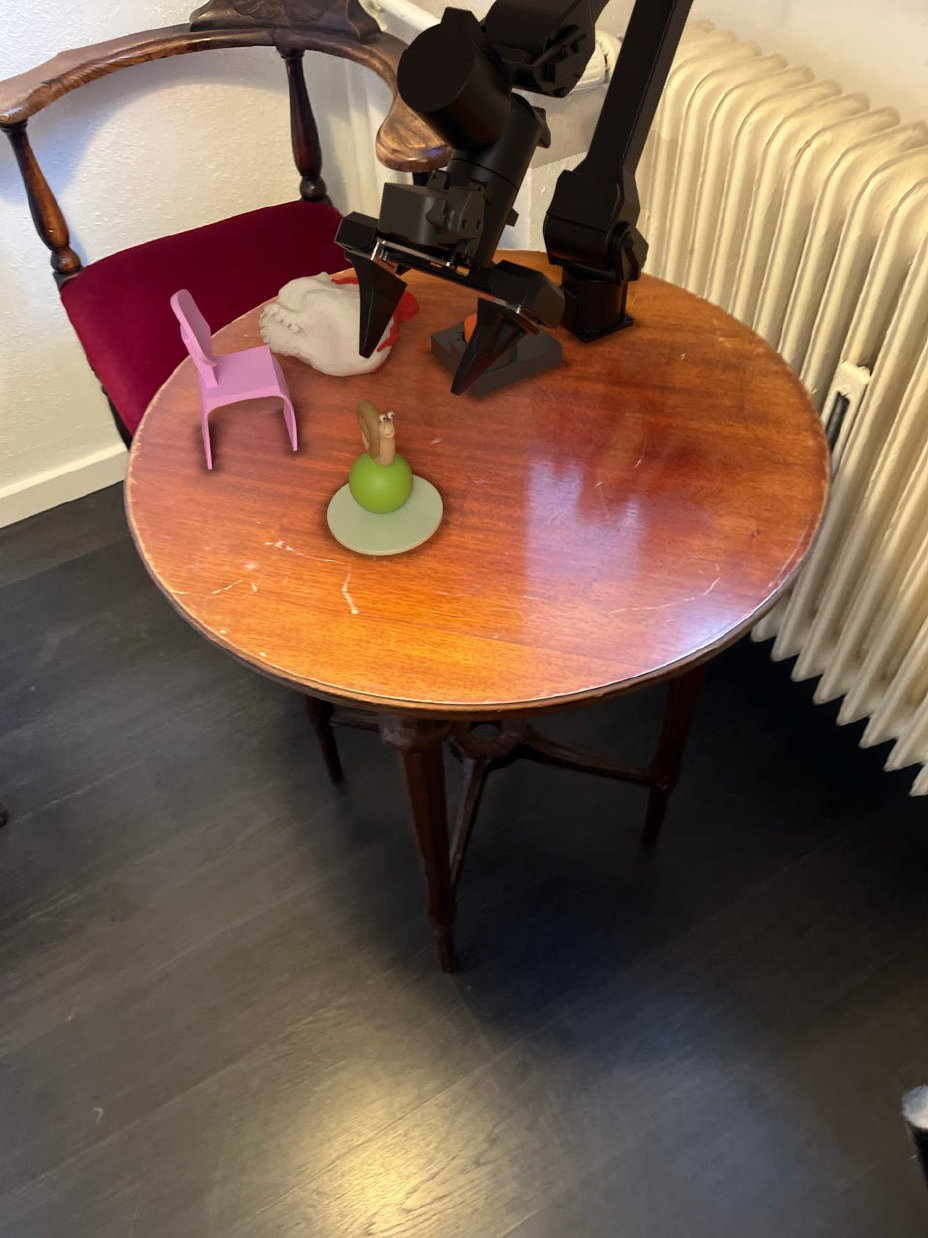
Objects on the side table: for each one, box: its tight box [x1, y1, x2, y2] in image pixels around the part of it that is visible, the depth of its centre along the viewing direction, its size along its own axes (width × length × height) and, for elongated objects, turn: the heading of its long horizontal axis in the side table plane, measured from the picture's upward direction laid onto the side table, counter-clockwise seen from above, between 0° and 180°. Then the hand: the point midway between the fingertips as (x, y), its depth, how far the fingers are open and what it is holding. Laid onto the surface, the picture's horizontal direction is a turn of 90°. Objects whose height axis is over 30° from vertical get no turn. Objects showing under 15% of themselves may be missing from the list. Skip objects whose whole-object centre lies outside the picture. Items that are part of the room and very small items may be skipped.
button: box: [464, 312, 477, 344], centre depth 86 cm, size 4×4×2 cm
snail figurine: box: [348, 398, 413, 514], centre depth 72 cm, size 5×6×12 cm
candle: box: [258, 271, 421, 377], centre depth 89 cm, size 9×11×15 cm
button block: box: [430, 320, 563, 398], centre depth 89 cm, size 10×9×4 cm
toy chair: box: [170, 288, 298, 470], centre depth 78 cm, size 8×9×15 cm
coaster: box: [326, 473, 444, 556], centre depth 77 cm, size 10×10×1 cm
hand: (407, 375), depth 71 cm, fingers open, 9 cm apart
